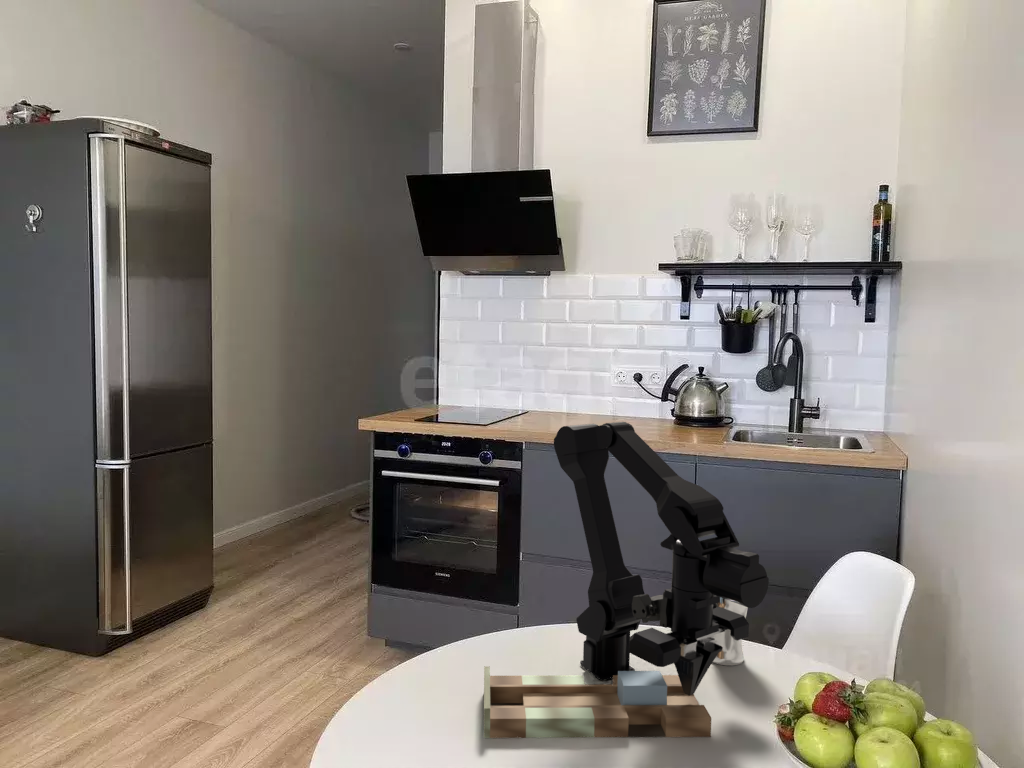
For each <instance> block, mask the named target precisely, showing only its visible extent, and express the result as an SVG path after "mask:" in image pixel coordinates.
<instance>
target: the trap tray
mask: <svg viewBox="0 0 1024 768" xmlns="http://www.w3.org/2000/svg"><path fill="white" fill-rule="evenodd" d="M483 670H484V671H483V674H484V675H483V676H484V677H483V685H484V686H483V739H519V738H520V739H521V738H522V739H529V738H531V739H533V738H537V739H539V738H545V739H548V738H550V739H551V738H552V739H553V738H555V739H556V738H562V739H563V738H681V737H682V738H691V737H692V738H694V737H695V738H697V737H698V738H700V737H701V738H702V737H703V738H708V737H709V738H710V737H711V735H712V717H711V715H710V713H709V711H708V710H707V708H706V706H705V704H700V703H699V701H698V699H697V697H696V695H695V693H694V694H693V695H690V696H688V695H686V694H685V693H684V692H683V688H682V685H681V682H680V679H679V676H678V674H674V675H673V674H665V675H663V674H662V676H663V678H664V680H665V682H666V684H667V705H621V704H620V701H619V698H618V695H617V688H618V675H613V678H612V684H609V683H608V684H606V683H605V684H603V683H602V684H601V683H600V684H597V683H596V684H590V683H589V684H586V683H585V679H584V676H583V674H582V675H581V674H579V675H575V674H574V675H567V674H566V675H562V674H561V675H491V672H490V671H491V667H490V666H489V665H486V666H484V667H483Z"/></svg>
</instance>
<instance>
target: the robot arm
mask: <svg viewBox="0 0 1024 768" xmlns="http://www.w3.org/2000/svg"><path fill="white" fill-rule="evenodd" d="M553 448H554V452H555V454H556V458H557V461H558V463H559V466H560V468H561V469H562V471H563V472H564V473H565V474H566V475H567V476H568V477H569V479H570V480H571V481H572V482H573V486H574V490H575V494H576V499H577V503H578V509H579V512H580V513H579V514H580V516H581V522H582V526H583V527H582V528H583V531H584V534H585V535H584V537H585V540H586V544H587V548H588V554H589V560H590V563H591V567H592V575H591V579H590V581H589V587H588V590H587V596H588V597H587V599H588V607H587V608H586V609H584V611H582V612H581V614H579V615H578V616H577V617H576V623H577V630H578V633H580V634H582V635H583V636H585V640H584V641H583V649H582V650H583V653H582V654H583V655H582V656H583V657H582V659H581V660H580V662H579V663H580V664H579V665H580V666H581V667H583V668H584V669H585V670H586V671H588V672H589V673H590V674H591V675H593V676H594V677H596V678H597V679H598V681H604V680H609V679H613V675H618V671H636V669H635V668H633V667H632V666H631V665H630V655H633V656H635V657H637V658H639V659H641V660H643V661H645V662H647V663H649V664H651V665H653V666H655V667H660V668H664V667H667V666H671V665H673V664H674V667H675V670H676V672H677V675H678V676H679V679H680V682H681V685H682V688H683V692H684V693H685V694H686V695H688V696H690V695H693V694H694V695H695V692H696V691H697V689H698V687H699V685H700V684H701V682H702V680H703V678H704V677H705V675H706V673H707V672H708V670H709V669H710V667H711V666H712V664H713V661H714V659H715V658H716V656H717V655H718V653H719V652H721V651H722V649H723V647H722V646H720V645H718V644H715V639H714V635H715V634H718V633H721V632H724V631H725V630H727V629H729V630H731V633H730V635H731V636H732V638H733V639H734V640H740V639H745V638H748V637H749V634H750V632H749V631H750V624H749V621H748V620H747V617H746V618H745V617H744V616H743V615H740V614H738V613H735V612H732V611H730V610H727V609H725V608H722V607H717V608H714V609H713V604H716V603H719V602H720V597H721V598H724V599H726V600H729V601H732V602H735V603H737V604H740V605H743V606H745V607H748V609H754V608H756V607H758V606H759V605H760V604H761V603H762V602H763V600H764V599H765V597H766V595H767V593H768V589H769V581H770V579H769V578H770V577H768V574H767V571H766V568H765V567H764V566H763V564H761V563H760V555H759V554H758V553H755V552H751V551H743V550H740V549H737V548H739V546H740V542H739V541H738V538H737V537H736V535H735V532H734V531H733V529H732V527H731V525H730V523H729V521H728V519H727V516H726V515H725V513H724V506H723V504H722V502H721V501H720V500H719V499H718V498H717V497H716V496H714V495H713V494H712V493H711V492H709V491H708V490H706V489H705V488H703V486H700V485H697V484H696V483H693V482H691V481H688V480H686V479H684V478H682V476H681V475H679V474H678V473H676V472H675V471H674V469H672V467H671V466H670V465H668V463H667V462H665V460H663V458H662V457H660V455H658V453H656V451H654V450H653V448H651V446H650V445H649V444H648V443H647V442H645V440H643V438H641V437H640V435H639V434H638V433H637V432H636V431H635V428H634V427H633V425H632V424H630V423H629V422H626V421H616V422H615V421H614V422H605V423H603V424H601V425H598V424H597V423H587V424H586V423H584V424H576V425H565V426H561V427H560V428H559V429H558V431H557V432H556V435H555V437H554V438H553ZM610 454H611V455H612V456H613V457H614V459H616V460H617V462H618V463H620V465H621V466H622V467H623V468H624V469H625V470H626V471H627V472H628V473H629V474H630V475H631V476H632V478H634V480H635V481H636V482H638V484H639V485H640V486H641V487H642V488H643V489H644V491H646V493H648V495H650V496H651V498H652V499H653V500H654V502H655V506H656V510H657V516H658V517H659V519H660V520H661V522H662V523H663V524H664V527H666V529H667V530H668V532H669V533H670V534H669V536H668V537H666V538H665V539H664V540H662V541H661V542H660V547H661V548H664V549H666V550H667V549H668V550H670V551H671V552H672V553H671V556H672V558H671V561H672V562H671V584H670V585H671V586H670V588H667V589H664V591H663V594H658V595H653V596H650V595H649V594H648V593H646V594H645V590H644V585H643V579H642V577H641V575H640V574H632V573H631V571H630V570H629V569H628V567H627V566H626V565H625V562H624V558H623V553H622V549H621V545H620V540H619V536H618V532H617V528H616V522H615V520H614V519H615V518H614V515H613V509H612V505H611V501H610V497H609V493H608V488H607V483H606V479H605V473H606V469H607V466H608V462H609V459H610ZM714 535H715V536H716V537H711V538H707V539H703V540H700V539H701V538H704V537H709V536H714ZM641 621H642V622H641ZM649 622H659V626H661V627H662V628H664V629H670V632H667V633H665V632H663V631H661V630H659V629H656V628H654V627H650V628H646V629H642V630H641V631H637V630H638V629H639V627H640V623H643V624H646V623H649ZM633 631H637V632H634V633H633V634H631V632H633Z"/></svg>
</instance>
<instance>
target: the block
mask: <svg viewBox="0 0 1024 768" xmlns="http://www.w3.org/2000/svg"><path fill="white" fill-rule="evenodd" d="M662 675H663V674H662V673H661V671H660V670H635V671H618V688H617V695H618V698H619V701H620V704H621V705H667V684H666V682H665V680H664V678H663V676H662Z"/></svg>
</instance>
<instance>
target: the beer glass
mask: <svg viewBox="0 0 1024 768" xmlns="http://www.w3.org/2000/svg"><path fill="white" fill-rule="evenodd" d="M717 607H722V608H725V609H727V610H730V611H732V612H735V613H738V614H740V615H743V616H744V617H745V618H746V619H747V613H748V609H749V608H748V607H745V606H743V605H740V604H737V603H735V602H732V601H729V600H726V599H724V598H721V597H720V602H719V603H716V604H713V609H714V608H717ZM730 633H731V630H729V629H727V630H725V631H724V632H721V633H718V634H715V635H714V639H715V644H718V645H720V646H722V647H723V649H722V651H721V652H719V653H718V655H717V656H716V658H715V659H714V661H713V662H712V664H717V665H720V666H727V667H731V666H739V665H741V664H742V663H743V662H744V651H743V640H742V639H740V640H734V639H733V638H732V636H731V635H730Z"/></svg>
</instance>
